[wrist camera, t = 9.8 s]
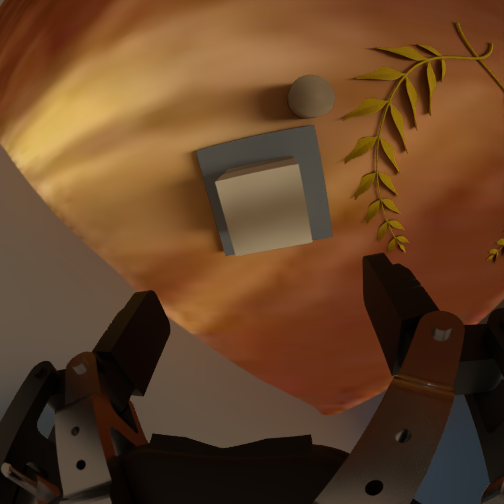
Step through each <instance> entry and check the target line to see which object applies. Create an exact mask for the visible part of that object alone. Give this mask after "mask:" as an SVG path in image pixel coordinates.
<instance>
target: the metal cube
mask: <svg viewBox="0 0 504 504" xmlns="http://www.w3.org/2000/svg"><path fill="white" fill-rule="evenodd" d="M215 184H216V188H217V191H218V195H219V198H220V202H221V206H222V209H223V213H224V216H225V220H226V224H227V227H228V231H229V234H230V238H231V241H232V245H233V248H234V252H235V255H236V256H240V255H245V254H251V253H256V252H262V251H267V250H273V249H278V248H284V247H289V246H295V245H300V244H306V243H311V242H312V236H311V230H310V224H309V218H308V212H307V206H306V201H305V195H304V190H303V184H302V179H301V174H300V169H299V164H298V163H297V161H296V160H295V159H294V157H293V156H288V157H283V158H278V159H273V160H268V161H263V162H258V163H254V164H249V165H245V166H240V167H236V168H232V169H228V170H227V171H226V172H225V173H224V174H223V175H222V176H220V177H219V178H218V179H217V180H216V181H215Z"/></svg>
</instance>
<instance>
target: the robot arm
mask: <svg viewBox="0 0 504 504" xmlns="http://www.w3.org/2000/svg"><path fill="white" fill-rule="evenodd" d="M363 297H364V303H365V307H366V310H367V312H368V315H369V317H370V320H371V322H372V325H373V327H374V330H375V332H376V335H377V337H378V340H379V342H380V345H381V348H382V350H383V353H384V356H385V358H386V361H387V364H388V367H389V369H390V372H391V375H392V376H393V375H397V374H398V375H397V377H396V376H395V377H394V378H393V379H392V381H391V383H390V385H389V387H388V389H387V391H386V393H385V395H384V397H383V399H382V401H381V403H380V405H379V406H378V408H377V410H376V412H375V414H374V415H373V417H372V419H371V421H370V423H369V424H368V426H367V428H366V429H365V431H364V433H363V434H362V436H361V438H360V439H359V441H358V442H357V444H356V445H355V447H354V449H353V450H352V451H351V453H350V454H349V453H347V452H345V451H342V450H339V449H336V448H332V447H328V446H323V445H314V444H312V438H311V435H304V436H294V437H282V438H269V439H264V440H260V441H256V442H252V443H248V444H243V445H239V446H234V447H229V448H219V447H215V446H212V445H208V444H205V443H202V442H199V441H196V440H193V439H189V438H186V437H178V436H169V435H161V434H152V438H151V440H150V443H148V441H147V439H146V437H145V435H144V432H143V430H142V427H141V425H140V422H139V420H138V416H137V414H136V411H135V408H134V405H133V403H132V402H131V401H130V400H129V399H130V397H131V395H135V396H144V394H145V392H146V389H147V387H148V384H149V382H150V380H151V377H152V375H153V372H154V370H155V368H156V365H157V363H158V360H159V358H160V356H161V353H162V351H163V349H164V347H165V344H166V342H167V340H168V337H169V335H170V323H169V320H168V318H167V316H166V314H165V312H164V310H163V307H162V305H161V303H160V301H159V299H158V297H157V295H156V293H155V292H154V291H152V290H149V291H142V292H136V293H134V294H133V296H132V297H131V299H130V300H129V301H128V303H127V304H126V306H125V307H124V308H123V309H122V310H121V311H120V312H119V313H118V314H117V315H116V316H115V318H114V320H113V321H112V323H111V324H110V325H109V327H108V330H106V331H105V333H104V334H103V336H102V337H101V339H100V340H99V342H98V343H97V345H96V346H95V348H94V349H93V351H92V352H83V353H80V354H78V355H76V356H75V357H74V358H72V359H71V360H70V362H69V363H68V364H67V366H66V369H63V370H58V371H57V370H56V369H55V368H54V366H53V365H52V364H51V362H49V361H43V362H40V363H39V364H37V365H36V366H35V367H34V368H33V369H32V370H31V371H30V373H29V374H28V376H27V378H26V379H25V381H24V382H23V384H22V386H21V387H20V389H19V391H18V392H17V394H16V395H15V397H14V399H13V401H12V402H11V404H10V406H9V407H8V409H7V411H6V413H5V415H4V417H3V418H2V420H1V422H0V504H421V503H419V502H418V501H416V500H415V499H413V497H414V495H415V494H416V492H417V490H418V488H419V486H420V484H421V482H422V480H423V478H424V476H425V474H426V472H427V470H428V468H429V466H430V464H431V461H432V459H433V457H434V454H435V452H436V450H437V447H438V445H439V442H440V439H441V437H442V434H443V432H444V429H445V426H446V423H447V420H448V417H449V414H450V411H451V408H452V404H453V401H454V396H455V395H463V394H464V395H465V398H466V401H467V404H468V406H469V409H470V412H471V415H472V418H473V421H474V424H475V427H476V430H477V433H478V437H479V440H480V444H481V447H482V450H483V455H484V459H485V463H486V467H487V471H488V476H489V480H490V484H489V485H488V487H487V488H486V489H485V491H484V493H483V495H482V497H481V500H480V504H504V380H503V377H504V308H499V309H496V310H494V311H493V312H492V313H491V314H490V316H489V318H488V321H487V324H477V325H464V324H463V322H462V321H461V320H460V319H459V318H458V317H457V316H456V315H454V314H452V313H450V312H446V311H440V310H439V309H438V307H437V306H436V305H435V303H434V302H433V300H432V299H431V298H430V296H429V295H428V293H427V292H426V291H425V289H424V288H423V287H421V284H420V283H419V281H418V280H416V277H415V276H414V275H413V273H412V272H411V271H410V270H409V269H408V268H406V267H404V266H402V265H401V264H399V263H398V264H393V265H392V263H391V262H390V261H389V259H388V258H387V257H386V255H385V254H384V253H378V254H373V255H368V256H364V257H363ZM46 404H48V405H49V406H50V407H51V408H52V409H53V410H54V411H55V414H54V415H55V424H54V426H53V428H52V431H51V433H50V435H49V437H48V439H46V438H45V437H44V436H43V435H42V434H41V433H40V432H39V431H38V428H37V421H38V419H39V417H40V415H41V413H42V411H43V409H44V407H45V405H46ZM27 463H28V465H26V464H27Z"/></svg>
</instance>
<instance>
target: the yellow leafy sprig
mask: <svg viewBox="0 0 504 504" xmlns="http://www.w3.org/2000/svg"><path fill="white" fill-rule="evenodd" d="M456 24H457V27H458V30H459V32H460V34H461V36H462V37H463V39H464V41H465V42H466V44H467V45H468V47H469V48H470V50H471V51H472V52H473V54H474V55H475V56H476V57H463V56H442V55H441V54H440V53H439V52H438V51H437V50H436V49H434V48H432V47H430V46H426V45H418V44H417V45H418V46H421V47H423V48H425V49H427V50H429V51H431V52H432V53H434V54H436V55H438V57H433V58H429V59H428V58H425V57H423V56H422V55H421V54H420V53H418V52H417V51H416V50H414V49H412V48H410V47H408V46H404V47H401V48H377V49H382V50H386V51H390V52H393V53H397V54H400V55H402V56H405V57H408V58H410V59H413V60H419V61H421V60H424V61H422V62H420V63H418V64H416V65H415V66H413V67H412V68H411V69H410V70H409V71H408V72H406V73H400V72H399V71H397V70H395V69H392V68H389V67H384V66H382V67H381V68H379V69H378V70H377V71H374V72H373V73H369V74H366V75H363V76H359V77H356V78H355V79H379V80H395V79H398V78H400V77H401V76H403V77H402V78H401V80H400V81H399V82H398V84H397V85H396V87H395V89H394V91H393V93H392V94H391V96H390V99H389V100H386V101H384V100H380V99H376V98H367V99H365V100H364V101H363V102H362V104H361V105H360V106H359V107H358V108H356V109H355V110H354V111H352V112H350V113H349V114H347V115H346V116H344V117H343V120H342V121H344V120H346V119H349V118H352V117H357V116H364V115H369V114H373V113H376V112H378V111H379V110H381V109H382V108H383V107H384V105H385V104H386V103H387V106H386V109H385V112H384V115H383V119H382V122H381V126H380V131H379V135H378V136H376V137H364V138H361V139H359V140H358V142H357V144H356V146H355V148H354V149H353V151H352V152H351V153H350V154H349V155H348V156H347V157H346V158H345V164H346V163H347V162H349V161H350V160H351V159H354V158H356V157H359V156H361V155H363V154H365V153H367V152H368V151H369V150H370V149H371V148H372V147H373V145H374V144H375V142H376V139H377V138H378V141H377V150H376V172H375V173H371V174H368V175H366V176H364V177H363V178H361V182H360V185H359V187H358V189H357V192H356V193H355V200H356V199H357V198H358V196H359V195H361V194H362V193H364V192H365V191H367V190H368V189H369V188H370V187H371V186H372V184H373V182H374V179H375V175H376V174H377V184H378V191H379V196H380V199H379V200H378V201H376V202H374V203H373V204H371V205H370V206H369V208H368V215H367V218H366V223H367V224H368V222H369V221H370V220H371V219H372V218H373V217H374V216H375V215H376V213H377V212H378V210H379V205H380V201H381V205H382V208H383V204H382V201H383V203H384V204H385V205H386V206H387V207H388V208H389V209H391V210H393V211H395V212H398V213H399V214H400V212H399V210H398V209H397V208H396V207H395V205H394V203H393V201H392V200H390V199H381V195H380V189H379V182H378V174H379V176H380V178H381V180H382V182H383V183H384V184H385V185H386V186H387V187H388V188H389V189H390V190H392V191H393V192H394V193H396V195H397V196H398V194H397V192H396V190H395V188H394V187H393V184H392V181H391V178H390V177H389V176H388V175H386V174H384V173H379V172H378V167H377V162H378V146H379V139H380V140H381V145H382V147H383V150H384V151H385V153H386V155H387V156H388V158H389V159H390V160H391V162H392V163H393V164H394V166H395V167H396V169H397V170H398V172H399V169H398V167H397V164H396V160H395V155H394V148H393V147H392V145H391V144H390V143H389V142H387V141H385V140H383V139H382V138H381V136H380V134H381V129H382V125H383V122H384V118H385V115H386V112H387V109H388V106H389V104H390V107H391V114H392V118H393V120H394V122H395V125H396V127H397V129H398V131H399V133H400V135H401V138H402V140H403V143H404V146H405V140H404V134H403V125H404V119H403V117H402V115H401V113H400V112H399V111H398V110H397V109H396V108H395V107H394V106H393V105H392V103H391V99H392V97H393V95H394V93H395V91H396V90H397V88H398V86H399V85H400V83H401V82H402V81H403V79H404V78H405V77H406V89H407V93H408V96H409V99H410V102H411V105H412V109H413V114H414V122H415V128H416V130H417V126H416V120H415V107H416V101H417V93H416V90H415V88H414V86H413V85H412V83H411V82H410V81H409V79H408V74H409V73H410V72H411V71H412V70H413V69H415V68H416V67H418V66H419V65H421V64H423V63H425V62H428V67H427V78H428V84H429V91H430V100H429V115H430V116H431V98H432V94H433V90H434V88H435V86H436V78H435V74H434V72H433V70H432V67H431V65H430V61H431V60H435V59H442V58H443V59H442V78H443V77H444V75H445V72H446V64H445V61H444V58H454V59H471V60H479V61H480V62H481V63H482V65H483V66H484V67H485V68H486V69H487V70H488V71H489V73H490V74H491V75H492V76H493V77H494V78H495V80H496V81H497V82H498V83H499V84H500V86H501V87H502V88H503V89H504V86H503V85H502V84H501V83H500V81H499V80H498V79H497V78H496V77H495V75H494V74H493V73H492V72H491V71H490V70H489V68H488V67H487V66H486V65H485V64H484V63H483V61H482V60H481V59H484V58H486V57H488V56H489V55H490V54H491V52H492V50H493V43H490V50H489V51H488V53H487V54H485V55H484V56H481V57H478V55H477V54H476V53H475V51H474V50H473V49H472V47H471V46H470V44H469V43H468V41H467V40H466V38H465V36H464V34H463V32H462V30H461V28H460V25H459V22H456ZM375 48H376V47H375ZM442 78H441V83H442ZM405 149H406V146H405ZM406 152H407V149H406ZM407 154H408V153H407ZM399 173H400V172H399ZM398 197H399V196H398ZM399 198H400V197H399ZM383 211H384V208H383ZM384 215H385V212H384ZM385 218H386V215H385ZM386 220H387V218H386ZM388 222H389V223H390V225H392V226H393V227H395V228H397V229H403V230H405V229H404V228H403V227H402V226H401V225H400V224H399V222H398V221H396V220H392V221H388V220H387V222H386V223H385V224H383V225H382V226H381V227H380V228H379V231H378V242H380V240H381V239H382V238H383V236H384V235H385V233H386V231H387V223H388ZM389 223H388V225H389ZM390 225H389V227H390ZM390 230H391V228H390ZM391 232H392V230H391ZM392 234H393V232H392ZM393 235H394V234H393ZM394 237H395V236H394ZM396 238H397V239H398V240H399V241H401V242H408V241H407V239H406V238H405V237H403V236H398V237H395V238H394V239H393V240H392V241H391V242H390V243H389V246H388V251H389V254H390V252H391V251H392V249H393V248H394V246H395V239H396ZM397 239H396V240H397ZM397 242H398V241H397ZM398 243H399V242H398ZM408 243H409V242H408ZM497 244H501V245H503V244H504V239H500V240H499V241H497ZM399 245H400V247H401V249H402V250H403V251H404V252H405V248H404V246H403V245H401V244H399ZM503 246H504V245H503ZM503 246H502V247H503ZM502 247H501V248H502ZM496 252H497V250H496V249H492V250H490V253H493V254H495V253H496ZM405 253H406V252H405ZM497 256H498V252H497ZM497 256H496V258H497ZM492 257H493V255H492V256H489V257H488V258H487V261H488V260H491V259H492ZM503 257H504V253H503ZM495 262H496V259H495ZM495 262H494V264H495Z"/></svg>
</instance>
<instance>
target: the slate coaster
mask: <svg viewBox="0 0 504 504" xmlns="http://www.w3.org/2000/svg"><path fill="white" fill-rule="evenodd" d="M196 153H197V157H198V161H199V164H200V168H201V172H202V175H203V179H204V183H205V186H206V190H207V193H208V197H209V201H210V204H211V208H212V211H213V215H214V218H215V222H216V225H217V228H218V232H219V235H220V239H221V242H222V245H223V249H224V252H225V256H228V255H234V254H235V252H234V248H233V245H232V241H231V238H230V234H229V231H228V227H227V224H226V220H225V216H224V213H223V209H222V206H221V202H220V198H219V195H218V191H217V188H216V184H215V181H216V180H217V179H218V178H219V177H220V176H222V175H223V174H224V173H225V172H226V171H227V170H228V169H232V168H236V167H240V166H245V165H249V164H254V163H258V162H263V161H268V160H273V159H278V158H283V157H288V156H293V157H294V159H295V160H296V161H297V163H298V164H299V169H300V174H301V179H302V184H303V190H304V195H305V201H306V206H307V212H308V218H309V224H310V230H311V236H312V240H318V239H323V238H329V237H332V229H331V221H330V213H329V206H328V199H327V193H326V186H325V180H324V174H323V168H322V163H321V157H320V152H319V146H318V141H317V136H316V131H315V127H314V125H311V126H305V127H298V128H293V129H287V130H281V131H276V132H271V133H266V134H261V135H256V136H252V137H247V138H243V139H239V140H234V141H230V142H226V143H222V144H218V145H215V146H211V147H207V148H204V149H200V150H197V151H196Z"/></svg>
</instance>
